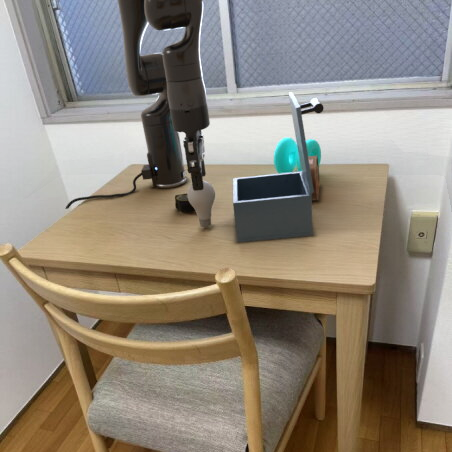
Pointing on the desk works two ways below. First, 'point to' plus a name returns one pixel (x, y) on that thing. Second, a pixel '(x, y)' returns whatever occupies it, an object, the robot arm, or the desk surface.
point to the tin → (314, 176)
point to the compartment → (272, 207)
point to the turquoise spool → (293, 154)
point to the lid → (300, 134)
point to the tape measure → (183, 203)
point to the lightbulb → (202, 203)
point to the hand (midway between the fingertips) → (199, 182)
